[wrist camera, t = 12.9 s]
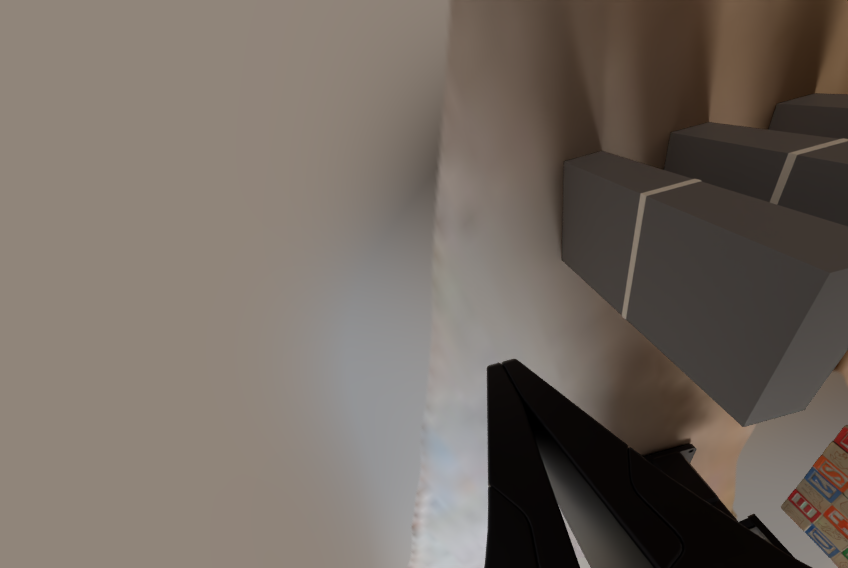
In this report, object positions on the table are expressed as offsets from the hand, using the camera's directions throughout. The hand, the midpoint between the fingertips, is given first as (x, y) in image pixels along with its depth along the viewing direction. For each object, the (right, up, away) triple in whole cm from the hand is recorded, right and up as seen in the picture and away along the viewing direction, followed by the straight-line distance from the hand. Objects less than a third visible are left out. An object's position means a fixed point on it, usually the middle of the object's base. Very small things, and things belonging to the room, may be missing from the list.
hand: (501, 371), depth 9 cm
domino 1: (+6, +6, +7) cm, 11 cm away
